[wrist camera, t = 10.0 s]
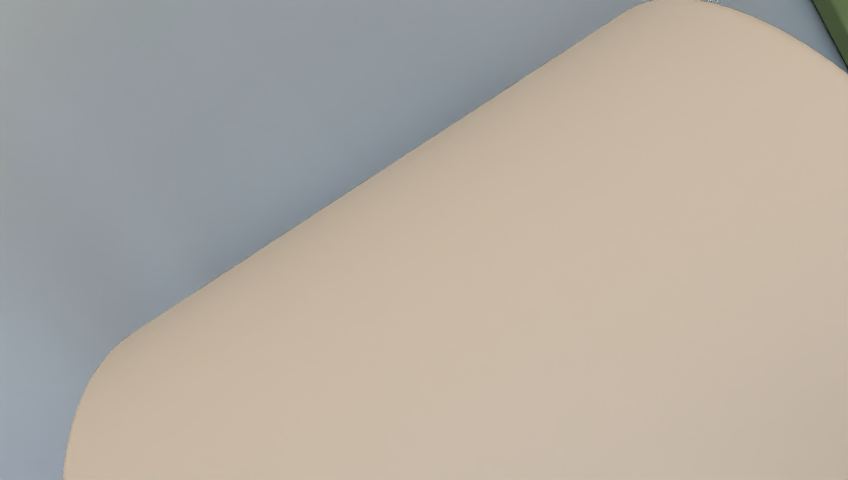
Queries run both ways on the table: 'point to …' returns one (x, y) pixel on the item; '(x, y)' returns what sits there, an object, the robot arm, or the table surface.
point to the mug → (535, 290)
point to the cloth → (836, 22)
